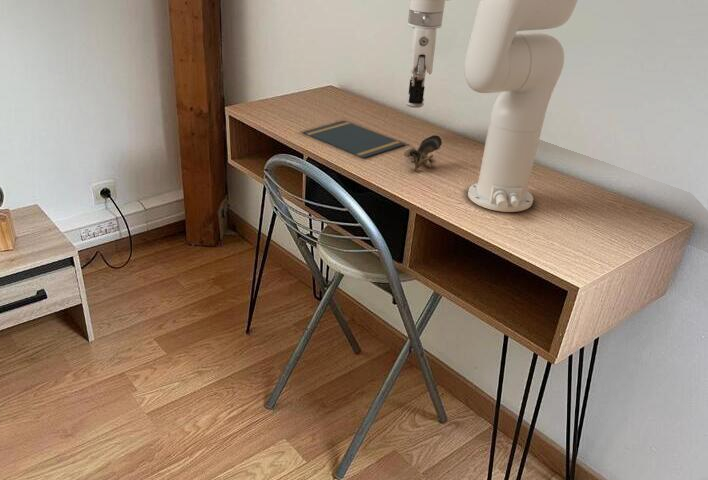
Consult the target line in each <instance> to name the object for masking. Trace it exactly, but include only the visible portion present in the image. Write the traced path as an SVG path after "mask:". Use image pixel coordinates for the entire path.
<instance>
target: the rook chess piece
mask: <svg viewBox="0 0 708 480" xmlns="http://www.w3.org/2000/svg"><path fill="white" fill-rule="evenodd" d="M416 72H418V70H416ZM423 73H424V71H423ZM410 76H412V78H413V73H412V72H411V75H410ZM415 77H417V75H415ZM411 82H412V81H411ZM408 93H409V92H408ZM409 95H410V93H409ZM409 95H407V96H406V98H405V105H406V106H407V107H408V108H412V109H413V108H414V109H419V108H422V107H423V106H424V105H425V98H424V97H423V102H422V104H416V103H409Z"/></svg>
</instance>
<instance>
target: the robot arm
mask: <svg viewBox="0 0 708 480" xmlns="http://www.w3.org/2000/svg"><path fill="white" fill-rule="evenodd" d="M448 1H449V2H450V0H410V2H409V11H408V19H407V26H409V27H411V28H412V30H411V39H410V40H411V41H410V50H409V66H410V72H411V74H412V73H413V78H412V76H411V75H410V76H411V77H410V79H409V87H408V95H409V93H410V95H409V103H416V104H422V102H423V103H424V101H423V98H424V95H425V88H426V87H425V82H426V81H425V80H426V73H427V74H428V75H432V73H433V66H434V59H435V50H436V41H437V29H441V28H442V25H443V18H444V11H445V4H446V2H448ZM577 3H578V0H479V3H478V7H477V10H476V14H475V18H474V23H473V27H472V30H471V34H470V38H469V42H468V45H467V49H466V53H465V57H464V66H463V67H464V68H463V70H464V78H465V81H466V83H467V85H468V87H469V88H470V89H471V90H472V91H474V92H476V93H480V94H495V93H500V94H499V95H498V97H497V99H496V100H495V102H494V103H493V104H494V105H493V106H492V109H491V114H490V118H489V123H488V128H487V133H486V139H485V144H484V148H483V149H484V150H483V155H482V160H481V165H480V170H479V174H478V175H479V176H478V180H477V182H476V183H473V184H471V186H470V187H469V188H468V192H467V196H468V199H470V201H471V202H473V203H474V204H475V205H477V206H479V207H482V208H484V209H488V210H491V211H496V212H503V213H516V212H523V211H526V210H528V209H529V208H531V207H532V205H533V202H534V196H533V194H532V193H531V192H530V191H529V190H528V188H529V185H530V179H531V175H532V172H533V168H534V167H533V166H534V163H535V160H536V155H537V150H538V147H539V140H540V138H541V133H542V129H543V125H544V121H545V118H546V113H547V109H548V107H549V103H550V100H551V97H552V94H553V92H554V90H555V87H556V85H557V83H558V81H559V79H560V76H561V74H562V71H563V68H564V65H565V64H564V63H565V52H564V48H563V46H562V44H561V43H560V41H559V40H558V39H557V38H555V36H553V35H549V34H546V33H541V32H538V33H537V32H529V33H517V32H523V31H542V30H551V29H556V28H559V27H561V26H563V25H565V24H566V23H568V21H569V20H570V18H571V16H572V14H573V13H574V11H575V8H576V5H577ZM416 70H418V72H416ZM423 71H424V73H423ZM415 75H417V77H415ZM411 81H412V82H411ZM408 95H407V96H408Z"/></svg>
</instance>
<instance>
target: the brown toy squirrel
mask: <svg viewBox="0 0 708 480" xmlns="http://www.w3.org/2000/svg"><path fill="white" fill-rule="evenodd" d="M442 144H443V141H442V138H441V137H440V135H435V134H434V135H431V136H428V137H427V138H424V139H423V140H422V141H421V143H420V145H419V146H418V149H416V148H415V147H414V146H412V147H409V148H407V149H405V150H404V152H403V156H404V157H405V158H410V157H412V158H413V159H414V160H411V161H410V163H412V164H414V169H413V172H416V171H417V170H418V169H419V168H420V167H421V166H422V164H425V165H426V166H427V167H429V169H431V168H432V166H431V162H430V160H431V159H432V158H433V157H434V155H433V154H431V153H433V152H434V151H438V150H440V149H441V146H442ZM429 154H431V155H429ZM428 155H429V156H428Z"/></svg>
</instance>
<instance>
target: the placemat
mask: <svg viewBox="0 0 708 480" xmlns="http://www.w3.org/2000/svg"><path fill="white" fill-rule="evenodd" d="M302 134H305V135H306V136H309V137H312V138H313V139H316V140H319V141H320V142H321V141H322V142H324V143H326V144H329V145H330V146H333V147H336V148H338V149H340V150H343V151H345V152H348V153H350V154H352V155H354V156H358V157H359V158H361V159H367V158H370V157H374V156H377V155H379V154H382V153H385V152H388V151H391V150H394V149H397V148H400V147H404V146H405V145H406V143H403V142H401V141H399V140H396V139H393V138H390V137H387V136H385V135H382V134H380V133H377V132H375V131H372V130H368V129H366V128H364V127H361V126H359V125H356V124H354V123H350V122H348V121H345V120H343V121H338V122H335V123H331V124H327V125H324V126H320V127H317V128H313V129H310V130H309V129H308V130H305V131H303V133H302Z"/></svg>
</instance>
